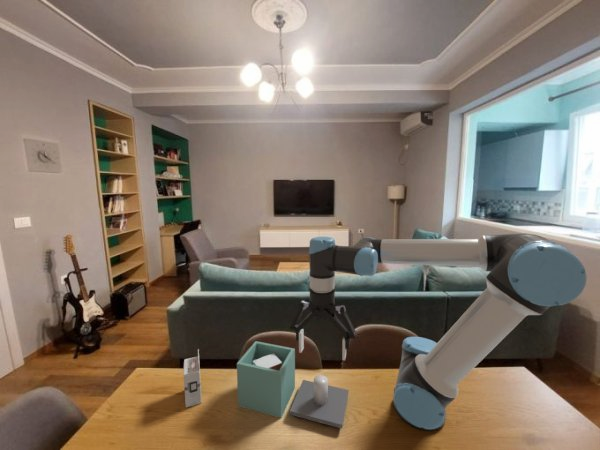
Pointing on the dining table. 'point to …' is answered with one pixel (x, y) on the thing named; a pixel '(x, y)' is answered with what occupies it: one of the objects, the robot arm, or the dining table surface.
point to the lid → (320, 402)
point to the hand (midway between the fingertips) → (322, 354)
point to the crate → (266, 380)
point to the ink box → (192, 381)
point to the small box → (269, 362)
